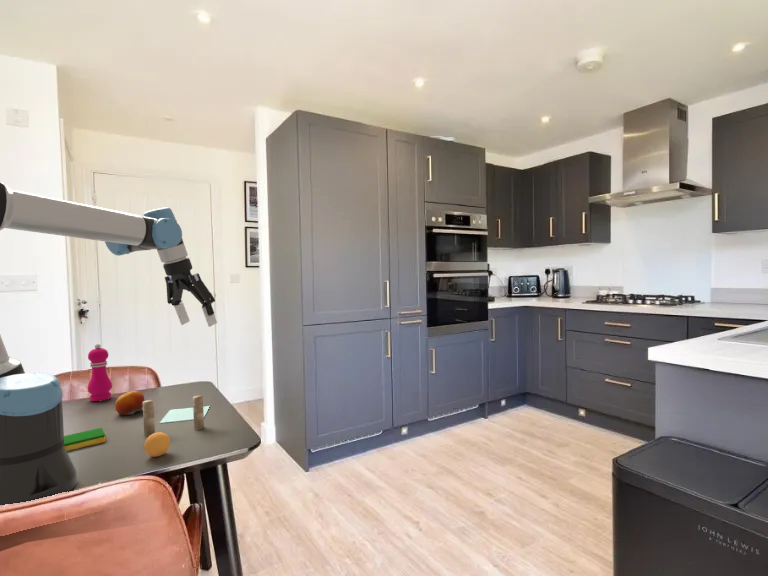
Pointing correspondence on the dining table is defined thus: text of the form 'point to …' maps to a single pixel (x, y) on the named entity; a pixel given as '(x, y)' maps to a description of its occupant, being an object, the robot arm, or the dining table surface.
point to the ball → (157, 444)
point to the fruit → (129, 403)
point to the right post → (198, 412)
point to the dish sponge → (84, 439)
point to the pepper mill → (99, 375)
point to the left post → (148, 417)
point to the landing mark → (181, 415)
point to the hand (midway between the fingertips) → (198, 323)
